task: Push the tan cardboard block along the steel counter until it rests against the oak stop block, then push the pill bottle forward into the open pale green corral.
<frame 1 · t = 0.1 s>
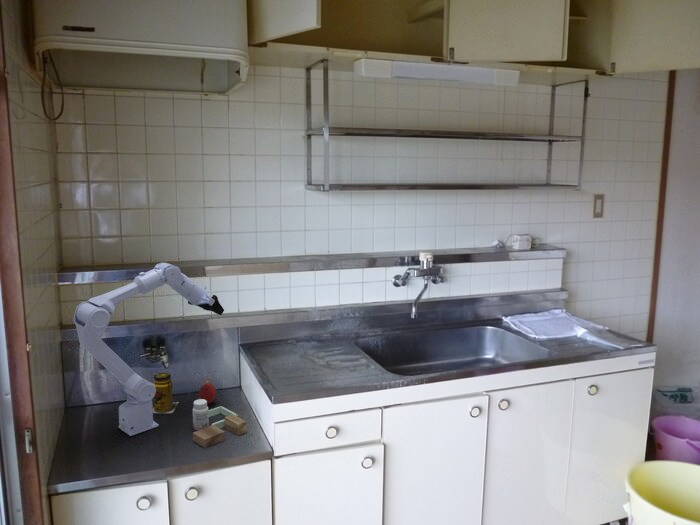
hand: (215, 310, 197), 32 cm above the countertop, tool tilted 50°, fingers open, 7 cm apart
tan cardboard block: (209, 441, 175), on the countertop
corral: (217, 420, 188), on the countertop
stop block: (235, 429, 182), on the countertop
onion: (207, 404, 200), on the countertop
pill bottle: (201, 427, 184), on the countertop
condiment: (164, 408, 196), on the countertop
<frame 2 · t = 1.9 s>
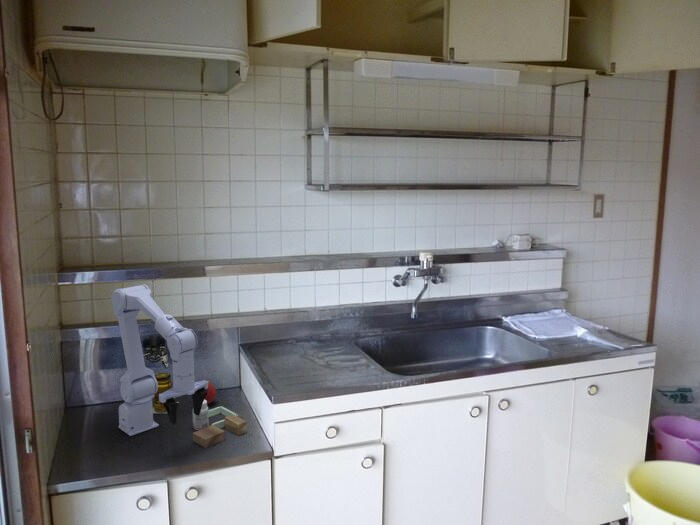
hand: (185, 418, 168), 10 cm above the countertop, tool pointing down, fingers open, 7 cm apart
nothing on the countertop moved.
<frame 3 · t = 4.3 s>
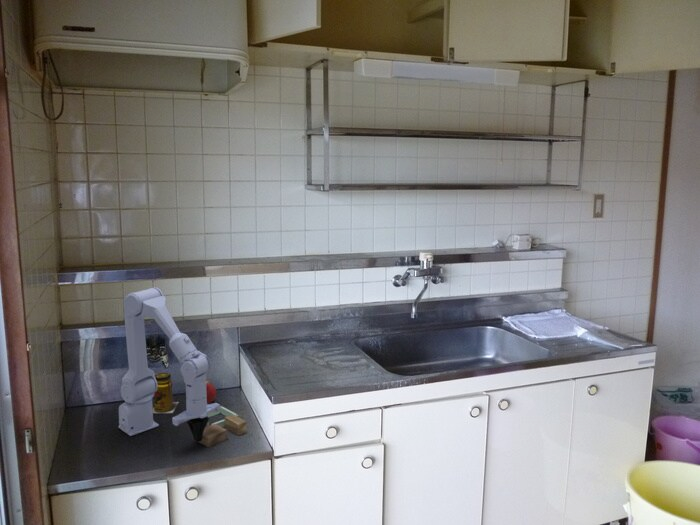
hand: (197, 440, 172), 1 cm above the countertop, tool pointing down, fingers closed
tan cardboard block: (211, 440, 176), on the countertop, touching gripper
everything else where it was.
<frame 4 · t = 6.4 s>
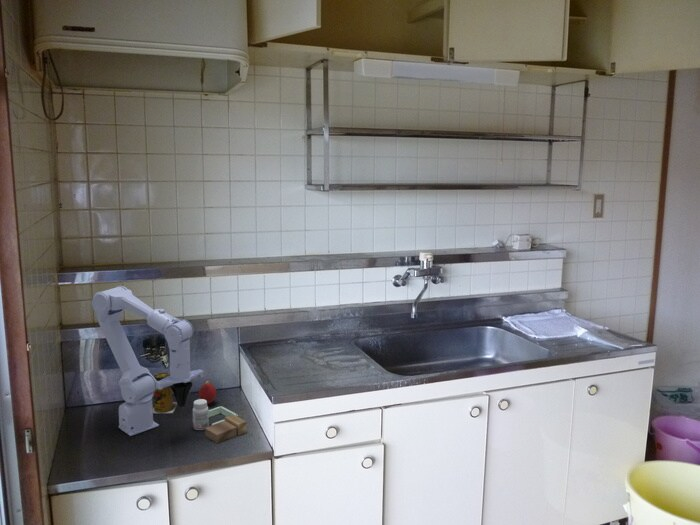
hand: (181, 405, 176), 10 cm above the countertop, tool pointing down, fingers closed
tan cardboard block: (221, 436, 178), on the countertop
everything else where it was.
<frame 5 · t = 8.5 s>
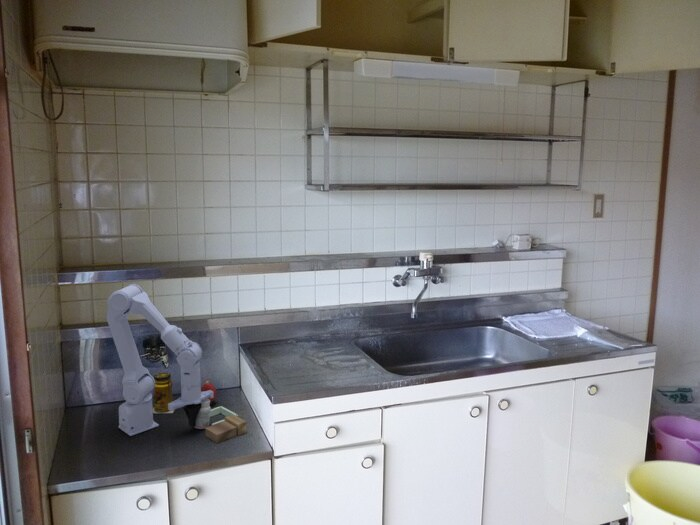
hand: (192, 425, 181), 2 cm above the countertop, tool pointing down, fingers closed, pressing on pill bottle
pill bottle: (200, 426, 184), on the countertop, touching gripper
everything else where it was.
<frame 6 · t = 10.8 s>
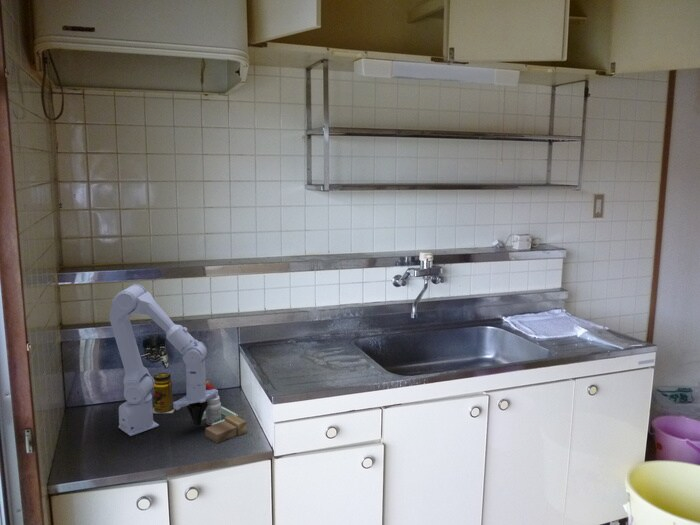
hand: (197, 424, 182), 1 cm above the countertop, tool pointing down, fingers closed
pill bottle: (213, 422, 187), on the countertop
everything else where it was.
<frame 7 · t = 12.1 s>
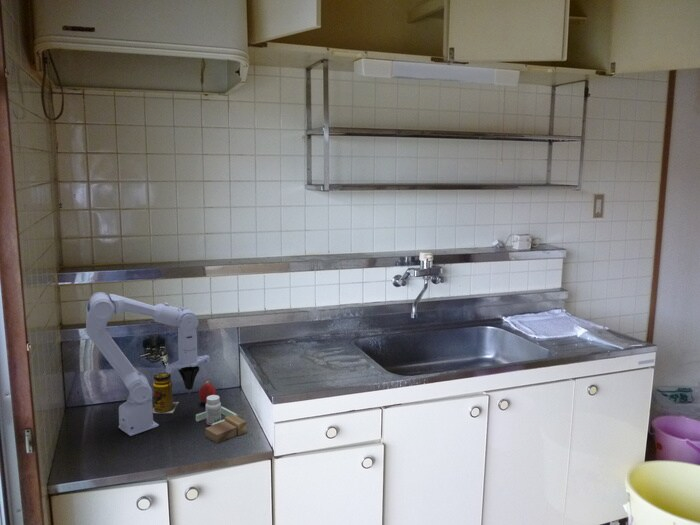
hand: (188, 388, 188), 10 cm above the countertop, tool pointing down, fingers closed
nothing on the countertop moved.
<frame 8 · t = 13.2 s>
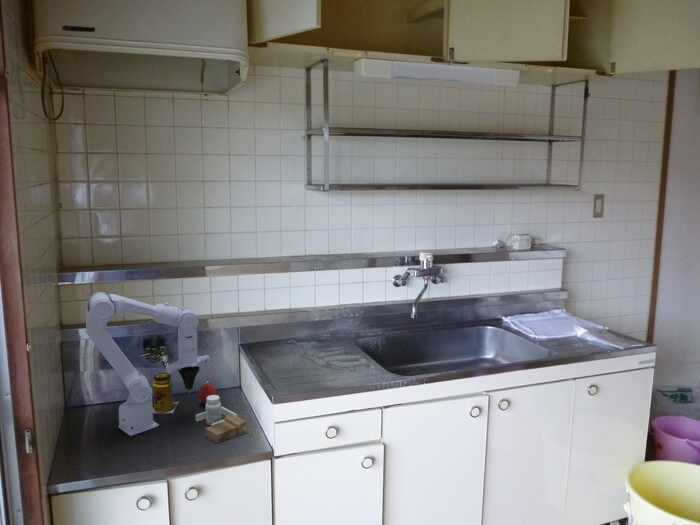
hand: (188, 388, 188), 10 cm above the countertop, tool pointing down, fingers closed
nothing on the countertop moved.
at the end: pill bottle 1.4 cm off-centre on the corral, point 0.0 cm above the corral's base; pill bottle tilted 0°; tan cardboard block 0.1 cm from the target spot, on the countertop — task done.
